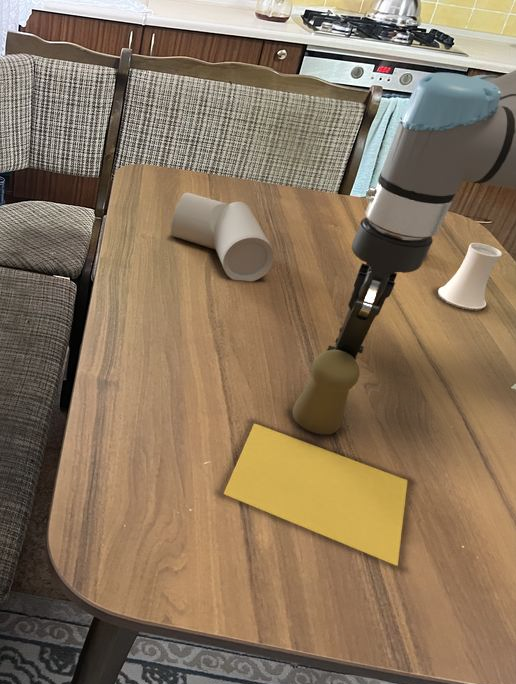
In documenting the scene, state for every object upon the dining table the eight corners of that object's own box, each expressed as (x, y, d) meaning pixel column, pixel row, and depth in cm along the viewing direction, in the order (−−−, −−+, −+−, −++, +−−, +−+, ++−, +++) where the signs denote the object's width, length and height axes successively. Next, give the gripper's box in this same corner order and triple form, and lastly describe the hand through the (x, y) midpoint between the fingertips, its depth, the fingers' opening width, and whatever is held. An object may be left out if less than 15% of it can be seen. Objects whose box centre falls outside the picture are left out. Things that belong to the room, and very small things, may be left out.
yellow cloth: (406, 482, 79) (407, 480, 79) (396, 568, 68) (397, 565, 68) (253, 425, 85) (254, 423, 85) (222, 496, 74) (223, 493, 74)
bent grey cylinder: (290, 248, 126) (189, 218, 134) (303, 199, 119) (196, 170, 127) (257, 304, 116) (150, 267, 124) (270, 254, 108) (155, 219, 116)
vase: (437, 286, 122) (461, 235, 116) (484, 299, 119) (510, 248, 113) (434, 303, 116) (459, 250, 111) (482, 318, 114) (511, 264, 108)
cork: (307, 441, 84) (328, 389, 76) (283, 402, 88) (301, 349, 79) (351, 428, 85) (377, 375, 76) (326, 390, 88) (348, 336, 80)
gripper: (370, 198, 80) (306, 358, 94) (354, 237, 71) (286, 409, 84) (438, 216, 78) (362, 378, 91) (431, 259, 68) (348, 432, 82)
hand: (326, 393), depth 88 cm, fingers closed
